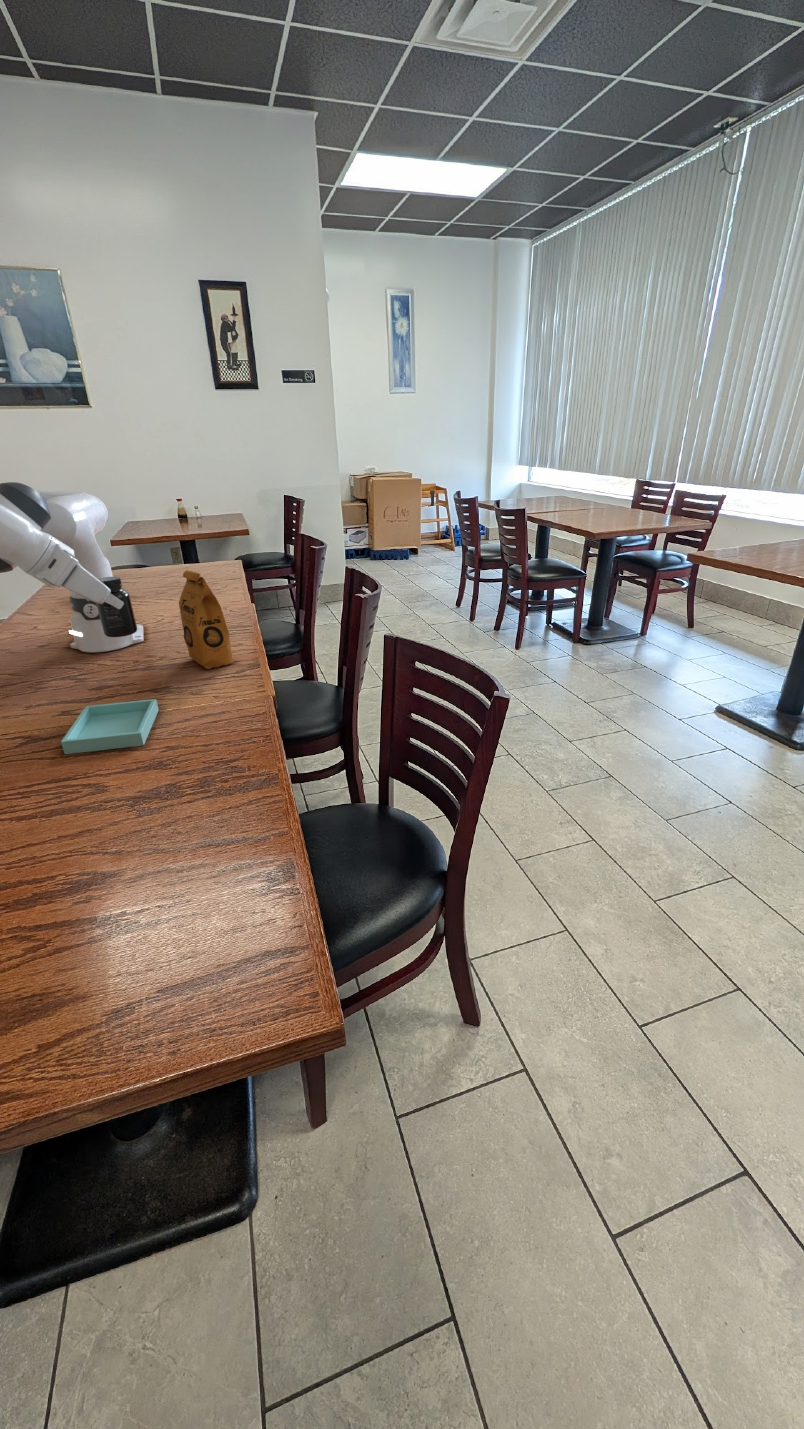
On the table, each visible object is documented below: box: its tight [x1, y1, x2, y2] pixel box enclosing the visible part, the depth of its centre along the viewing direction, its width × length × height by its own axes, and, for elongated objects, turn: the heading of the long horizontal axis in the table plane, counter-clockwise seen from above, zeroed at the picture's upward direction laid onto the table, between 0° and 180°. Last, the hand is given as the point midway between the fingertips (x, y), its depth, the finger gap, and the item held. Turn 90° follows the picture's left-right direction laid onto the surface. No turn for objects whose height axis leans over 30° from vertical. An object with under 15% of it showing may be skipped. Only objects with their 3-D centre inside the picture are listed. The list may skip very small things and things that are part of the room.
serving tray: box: [60, 698, 160, 755], centre depth 113 cm, size 16×14×3 cm
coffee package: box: [178, 569, 234, 670], centre depth 142 cm, size 10×12×22 cm
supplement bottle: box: [96, 576, 138, 637], centre depth 126 cm, size 7×7×12 cm
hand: (116, 602), depth 126 cm, fingers closed on supplement bottle, 7 cm apart
